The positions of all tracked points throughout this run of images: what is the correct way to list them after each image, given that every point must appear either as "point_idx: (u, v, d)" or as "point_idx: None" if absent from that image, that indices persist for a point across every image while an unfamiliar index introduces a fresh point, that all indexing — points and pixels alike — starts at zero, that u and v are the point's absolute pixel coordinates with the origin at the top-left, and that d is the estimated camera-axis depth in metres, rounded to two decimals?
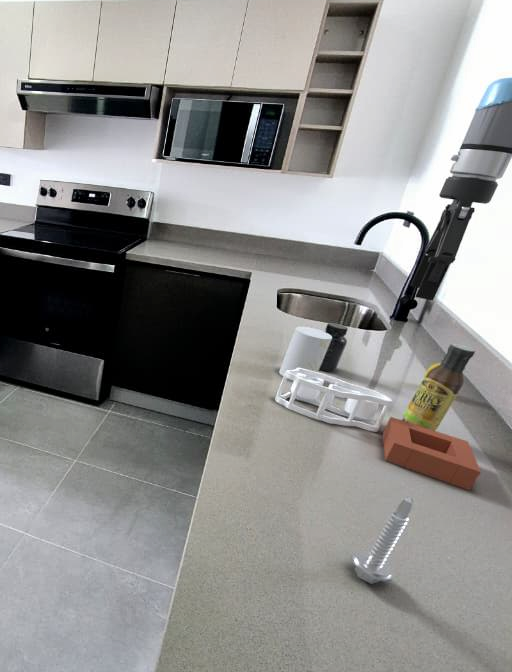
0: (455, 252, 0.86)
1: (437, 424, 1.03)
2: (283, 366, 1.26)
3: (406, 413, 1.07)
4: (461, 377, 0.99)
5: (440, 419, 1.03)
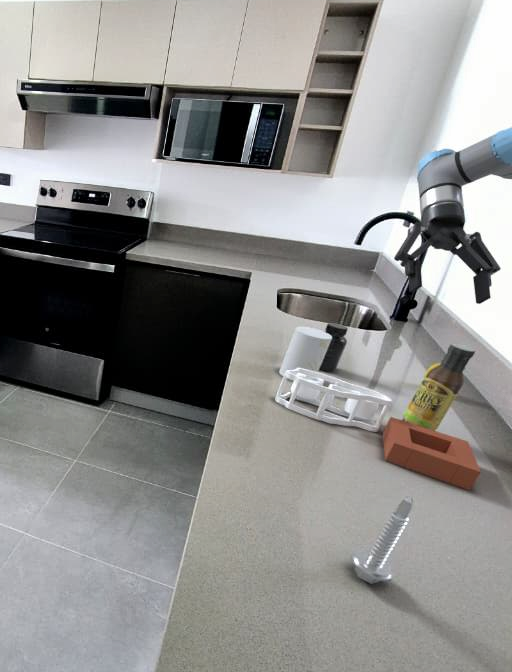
0: (403, 248, 1.08)
1: (437, 424, 1.03)
2: (283, 366, 1.26)
3: (406, 413, 1.07)
4: (461, 377, 0.99)
5: (440, 419, 1.03)
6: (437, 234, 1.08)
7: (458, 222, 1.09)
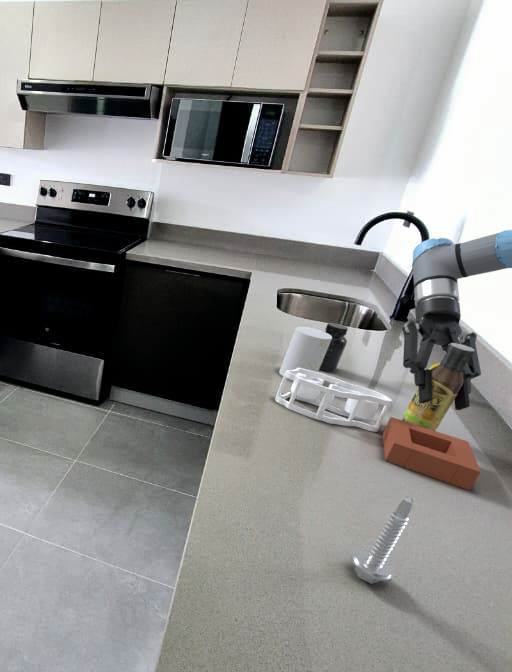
0: (410, 356, 1.03)
1: (436, 424, 1.03)
2: (283, 366, 1.26)
3: (406, 413, 1.07)
4: (461, 377, 0.99)
5: (440, 419, 1.03)
6: (434, 333, 1.04)
7: (453, 317, 1.05)
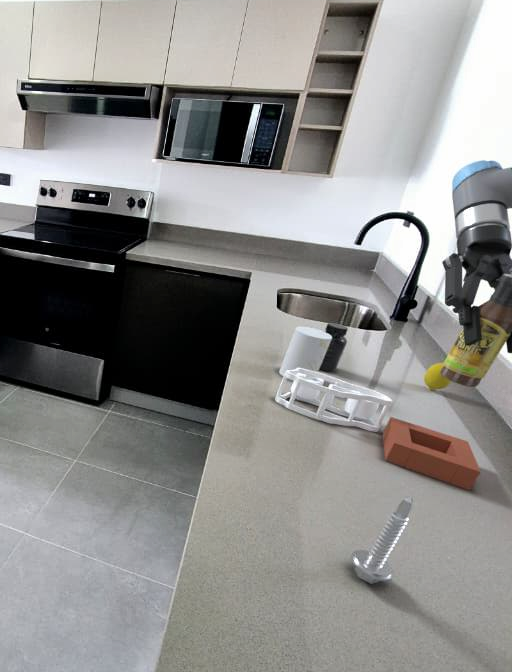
0: (453, 291, 0.89)
1: (484, 371, 0.89)
2: (283, 366, 1.26)
3: (447, 360, 0.92)
4: None
5: (489, 364, 0.88)
6: (481, 265, 0.90)
7: (503, 248, 0.90)
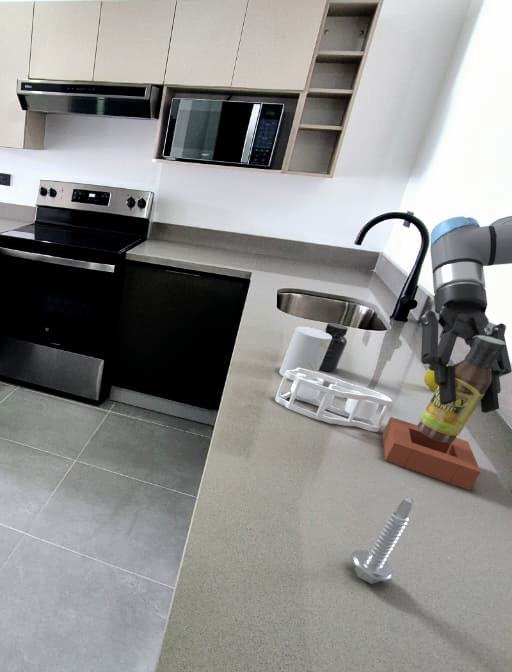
0: (429, 350, 0.90)
1: (459, 429, 0.90)
2: (283, 366, 1.26)
3: (424, 416, 0.93)
4: (489, 374, 0.86)
5: (464, 423, 0.90)
6: (457, 324, 0.91)
7: (479, 306, 0.92)
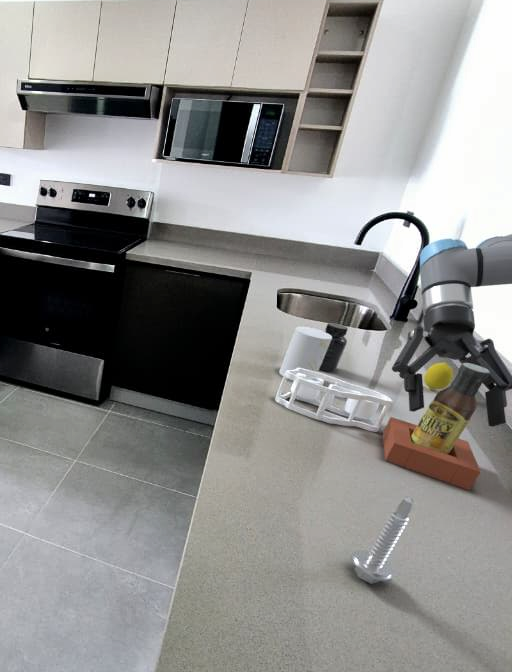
0: (401, 359, 0.93)
1: (446, 453, 0.92)
2: (283, 366, 1.26)
3: (411, 440, 0.95)
4: (474, 401, 0.88)
5: (450, 447, 0.92)
6: (442, 342, 0.93)
7: (467, 328, 0.94)
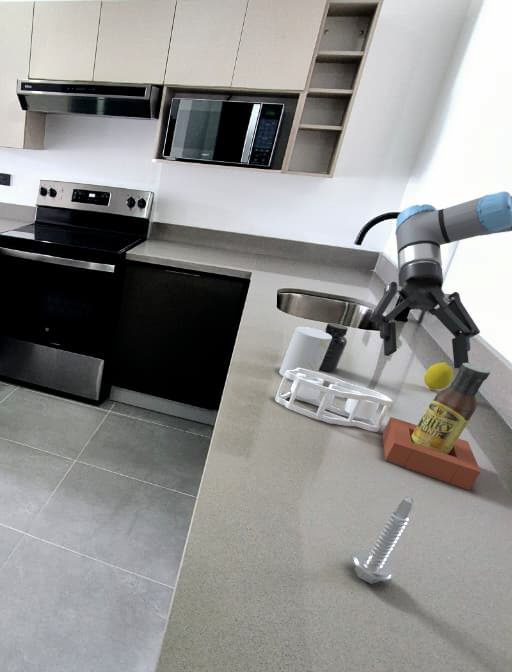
0: (377, 309, 1.04)
1: (446, 453, 0.92)
2: (283, 366, 1.26)
3: (411, 440, 0.95)
4: (474, 401, 0.88)
5: (450, 447, 0.92)
6: (413, 295, 1.04)
7: (436, 282, 1.05)
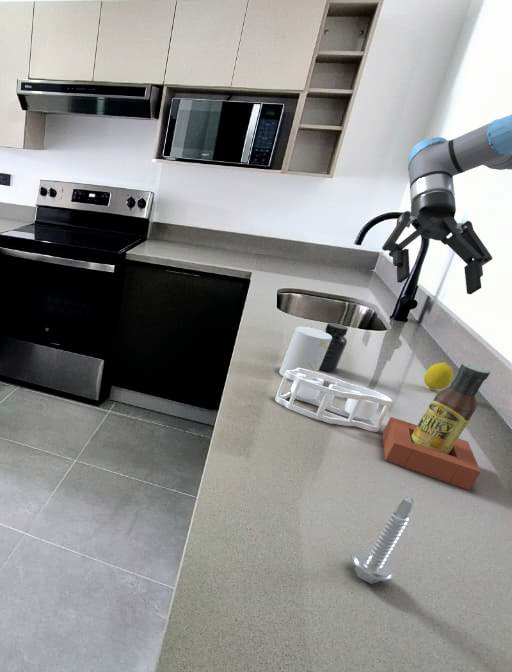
0: (390, 237, 1.05)
1: (446, 453, 0.92)
2: (283, 366, 1.26)
3: (411, 440, 0.95)
4: (474, 401, 0.88)
5: (450, 447, 0.92)
6: (426, 223, 1.05)
7: (448, 211, 1.06)
